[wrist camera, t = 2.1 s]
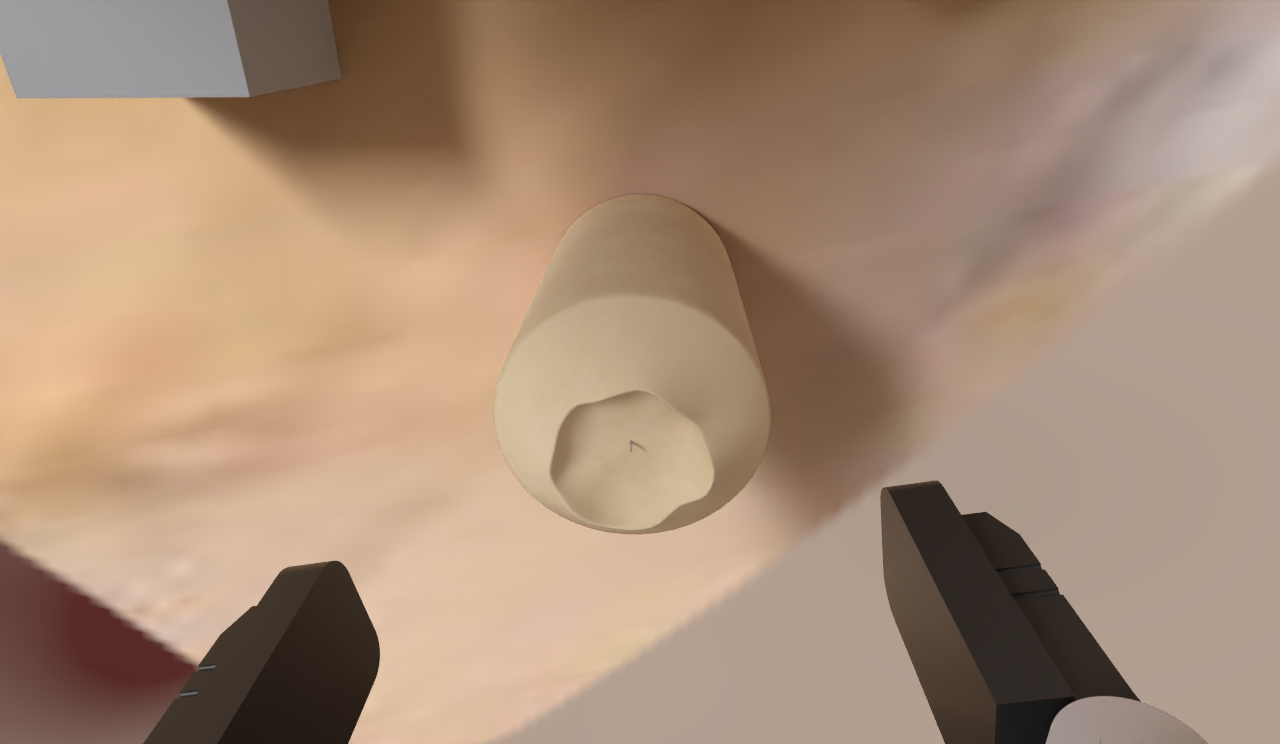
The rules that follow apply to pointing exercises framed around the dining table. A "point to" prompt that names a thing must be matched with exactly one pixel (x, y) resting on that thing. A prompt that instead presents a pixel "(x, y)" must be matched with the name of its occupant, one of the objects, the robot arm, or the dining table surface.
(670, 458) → the candle
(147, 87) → the slate block
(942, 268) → the dining table surface
